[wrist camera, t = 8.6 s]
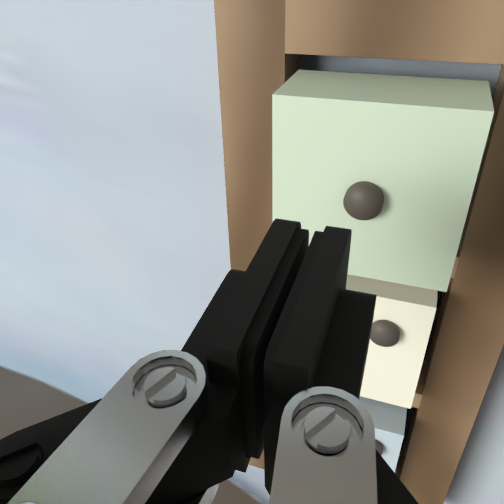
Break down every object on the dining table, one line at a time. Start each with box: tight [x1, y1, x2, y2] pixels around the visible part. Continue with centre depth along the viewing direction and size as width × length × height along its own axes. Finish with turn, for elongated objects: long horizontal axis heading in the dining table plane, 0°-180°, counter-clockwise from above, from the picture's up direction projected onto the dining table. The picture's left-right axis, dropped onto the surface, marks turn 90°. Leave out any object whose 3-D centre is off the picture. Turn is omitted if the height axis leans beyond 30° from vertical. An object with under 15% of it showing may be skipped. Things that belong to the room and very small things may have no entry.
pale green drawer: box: [272, 70, 494, 292], centre depth 16 cm, size 6×6×3 cm
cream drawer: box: [346, 274, 438, 409], centre depth 22 cm, size 6×6×3 cm
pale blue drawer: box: [359, 396, 407, 473], centre depth 26 cm, size 6×6×3 cm
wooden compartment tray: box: [214, 0, 504, 504], centre depth 22 cm, size 12×28×2 cm, turn 2°
